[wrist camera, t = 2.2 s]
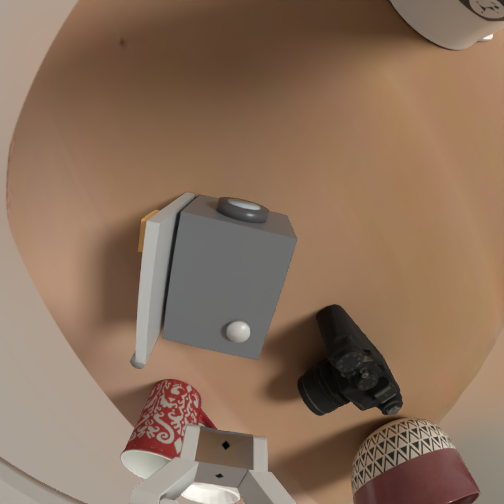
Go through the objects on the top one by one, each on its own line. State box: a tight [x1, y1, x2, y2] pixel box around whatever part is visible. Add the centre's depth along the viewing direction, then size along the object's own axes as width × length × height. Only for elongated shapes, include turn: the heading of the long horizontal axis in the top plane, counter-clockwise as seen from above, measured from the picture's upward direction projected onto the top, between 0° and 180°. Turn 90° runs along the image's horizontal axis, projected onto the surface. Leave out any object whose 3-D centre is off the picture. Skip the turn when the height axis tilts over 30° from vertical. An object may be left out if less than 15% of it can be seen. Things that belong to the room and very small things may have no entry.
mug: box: [120, 379, 217, 479], centre depth 33 cm, size 13×9×14 cm
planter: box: [351, 418, 480, 504], centre depth 33 cm, size 20×20×21 cm
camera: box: [297, 304, 403, 416], centre depth 32 cm, size 14×11×10 cm
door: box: [130, 192, 195, 369], centre depth 26 cm, size 13×2×12 cm, turn 166°
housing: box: [163, 195, 297, 360], centre depth 28 cm, size 13×9×9 cm
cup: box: [181, 481, 240, 504], centre depth 40 cm, size 10×10×10 cm
